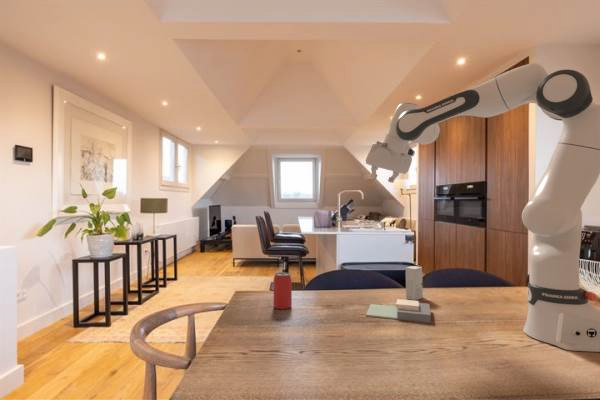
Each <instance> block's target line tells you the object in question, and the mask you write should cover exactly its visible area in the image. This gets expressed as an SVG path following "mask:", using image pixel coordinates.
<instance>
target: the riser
mask: <svg viewBox="0 0 600 400" xmlns="http://www.w3.org/2000/svg"><path fill="white" fill-rule="evenodd" d="M430 307H431V306H430V303H423V302H419V311H415V310H405V309H398V310H397V319H396V320H398V321H399V320H400V321H410V322H418V323H427V324H431V323H432V319H431V318H432V317H431V316H432V315H431V308H430Z"/></svg>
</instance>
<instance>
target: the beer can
mask: <svg viewBox="0 0 600 400" xmlns="http://www.w3.org/2000/svg"><path fill="white" fill-rule="evenodd" d="M292 297H293V296H292V277H291V274H290V273H289V272H283V271H282V272H276V273H274V277H273V308H275V309H276V310H288V309H290V308H291V307H292V305H293V303H292V301H293V300H292Z"/></svg>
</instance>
